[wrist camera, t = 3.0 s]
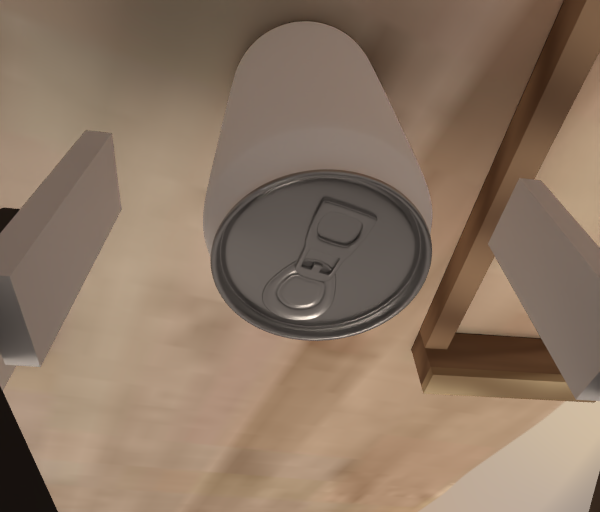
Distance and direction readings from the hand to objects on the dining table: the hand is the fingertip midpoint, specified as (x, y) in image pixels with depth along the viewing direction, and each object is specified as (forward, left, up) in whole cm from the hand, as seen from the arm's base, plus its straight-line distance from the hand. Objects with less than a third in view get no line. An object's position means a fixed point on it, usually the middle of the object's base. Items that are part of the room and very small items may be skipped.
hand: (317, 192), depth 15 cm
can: (0, 0, -8) cm, 8 cm away
